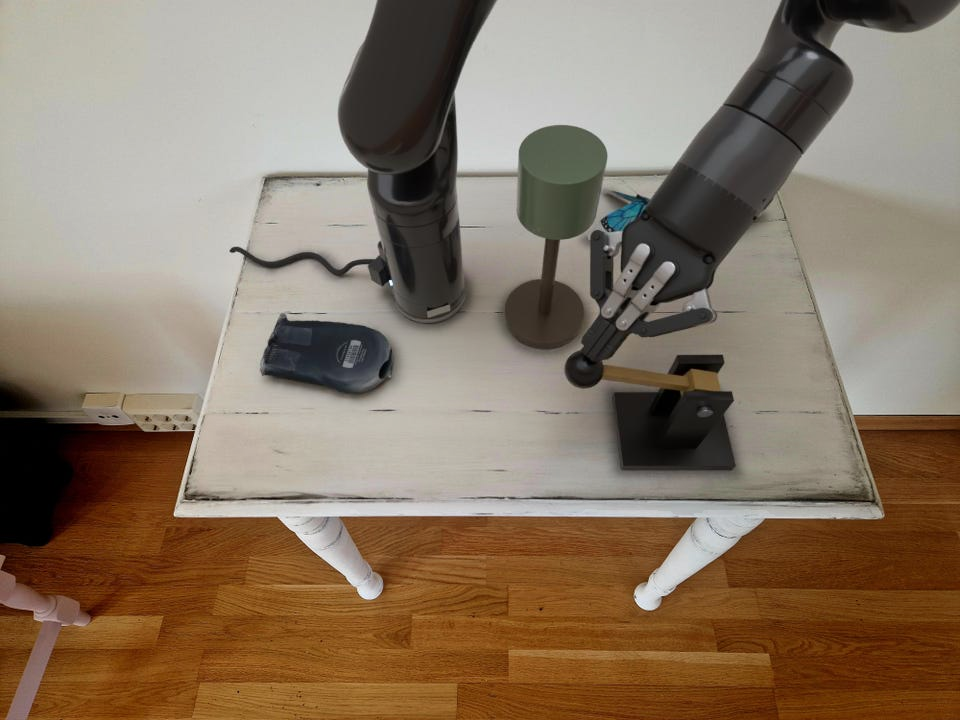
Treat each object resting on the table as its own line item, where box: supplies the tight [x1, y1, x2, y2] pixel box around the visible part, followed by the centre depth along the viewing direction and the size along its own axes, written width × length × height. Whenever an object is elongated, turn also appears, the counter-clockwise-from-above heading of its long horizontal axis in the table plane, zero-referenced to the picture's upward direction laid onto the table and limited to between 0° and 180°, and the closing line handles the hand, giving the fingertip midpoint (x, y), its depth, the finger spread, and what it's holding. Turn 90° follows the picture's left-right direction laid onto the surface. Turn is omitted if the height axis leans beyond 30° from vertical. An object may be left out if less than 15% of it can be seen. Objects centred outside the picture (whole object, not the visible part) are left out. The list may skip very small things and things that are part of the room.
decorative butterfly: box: [586, 179, 651, 242], centre depth 79 cm, size 10×6×10 cm
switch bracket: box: [612, 354, 737, 471], centre depth 59 cm, size 12×9×13 cm
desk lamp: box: [504, 124, 609, 351], centre depth 62 cm, size 10×10×26 cm
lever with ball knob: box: [564, 349, 722, 396], centre depth 54 cm, size 15×4×4 cm, turn 89°
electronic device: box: [259, 312, 394, 395], centre depth 69 cm, size 9×6×15 cm
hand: (590, 356), depth 51 cm, fingers closed
